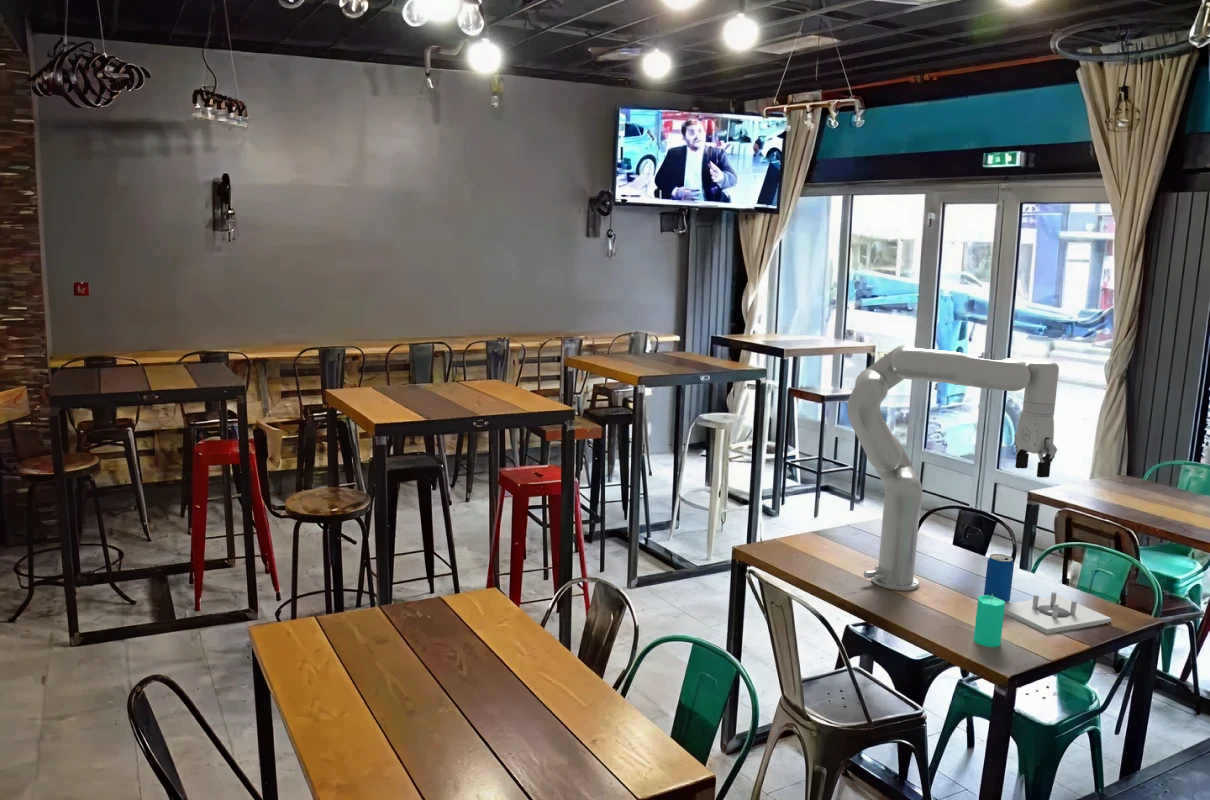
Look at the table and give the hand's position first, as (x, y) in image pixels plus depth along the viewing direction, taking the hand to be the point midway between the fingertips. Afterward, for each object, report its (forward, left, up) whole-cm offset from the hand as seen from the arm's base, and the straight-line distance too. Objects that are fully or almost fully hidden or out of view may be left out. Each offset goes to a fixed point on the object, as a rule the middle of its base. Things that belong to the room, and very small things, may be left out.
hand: (1031, 472), depth 248 cm
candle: (-31, -20, -35) cm, 51 cm away
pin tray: (-2, -13, -35) cm, 37 cm away
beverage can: (-8, 0, -35) cm, 36 cm away
